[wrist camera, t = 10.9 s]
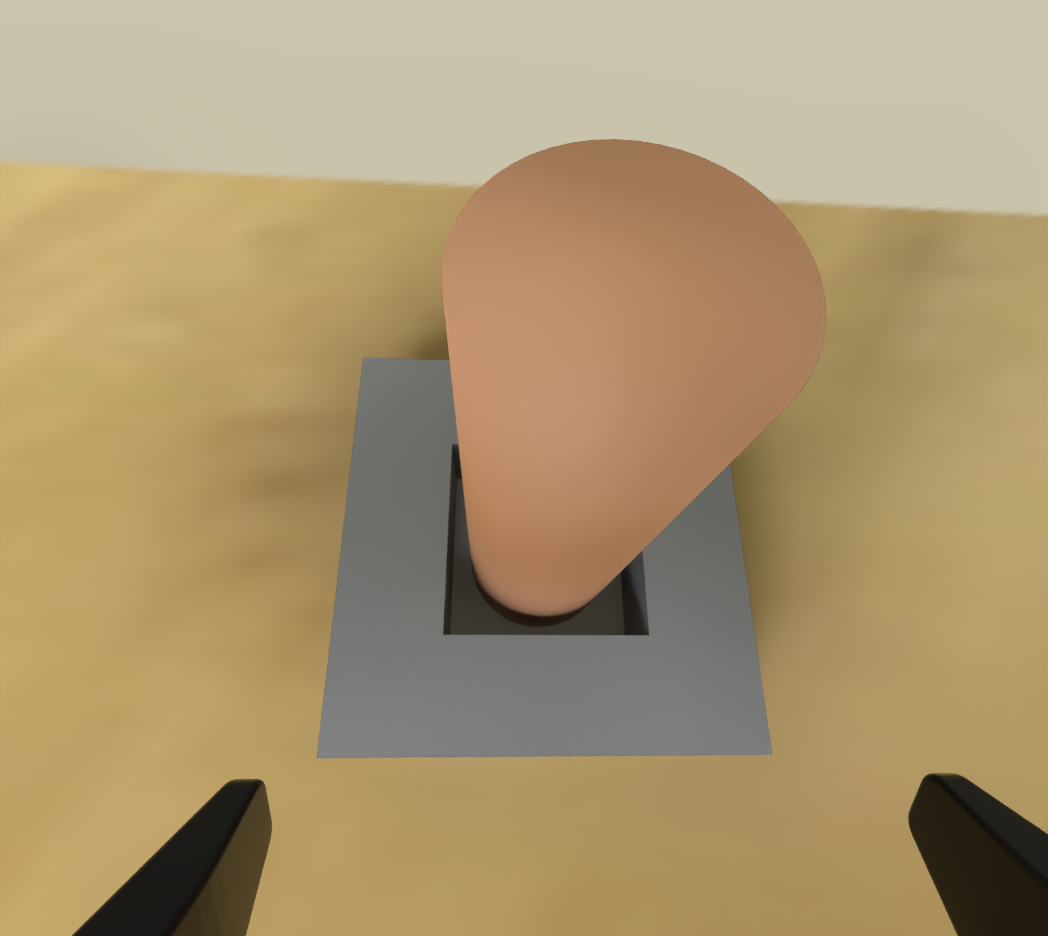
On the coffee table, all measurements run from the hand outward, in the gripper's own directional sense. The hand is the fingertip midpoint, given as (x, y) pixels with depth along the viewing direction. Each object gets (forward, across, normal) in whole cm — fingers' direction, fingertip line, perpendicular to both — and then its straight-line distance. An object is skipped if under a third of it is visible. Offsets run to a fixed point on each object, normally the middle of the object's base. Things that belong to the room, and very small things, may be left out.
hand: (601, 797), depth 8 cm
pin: (+11, 0, +3) cm, 12 cm away
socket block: (+12, 0, +4) cm, 12 cm away
